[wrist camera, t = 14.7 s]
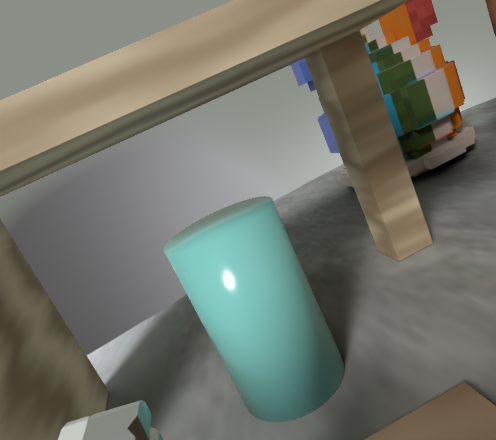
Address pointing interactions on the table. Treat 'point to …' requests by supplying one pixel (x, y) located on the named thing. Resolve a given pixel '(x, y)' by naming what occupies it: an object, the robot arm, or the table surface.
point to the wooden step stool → (160, 110)
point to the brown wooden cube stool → (492, 12)
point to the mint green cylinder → (258, 309)
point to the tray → (446, 419)
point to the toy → (411, 90)
